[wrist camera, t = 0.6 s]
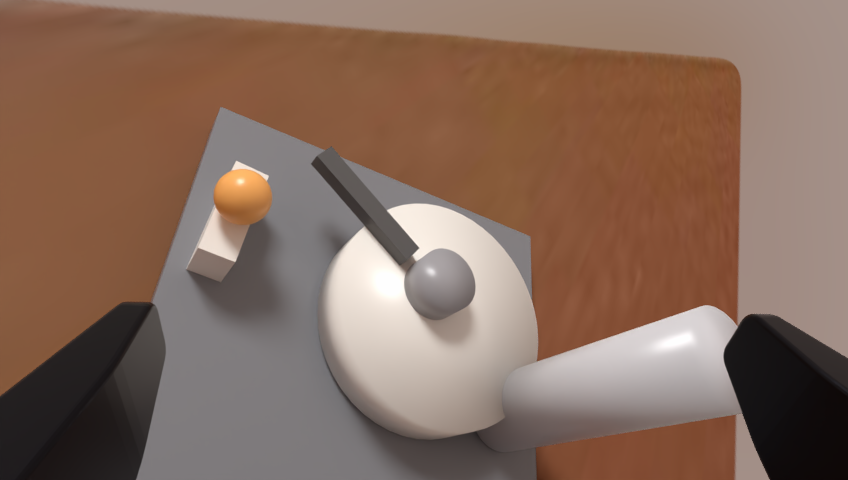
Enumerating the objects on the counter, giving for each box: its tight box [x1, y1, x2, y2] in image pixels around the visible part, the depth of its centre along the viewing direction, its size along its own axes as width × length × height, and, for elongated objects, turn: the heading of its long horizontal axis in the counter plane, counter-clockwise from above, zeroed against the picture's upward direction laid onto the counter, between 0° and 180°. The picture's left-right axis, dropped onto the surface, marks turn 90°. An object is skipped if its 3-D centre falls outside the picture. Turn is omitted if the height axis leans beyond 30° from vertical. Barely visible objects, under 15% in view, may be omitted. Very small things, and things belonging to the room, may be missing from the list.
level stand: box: [136, 107, 537, 480], centre depth 20 cm, size 16×16×5 cm
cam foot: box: [311, 146, 742, 452], centre depth 19 cm, size 14×9×10 cm, turn 49°
